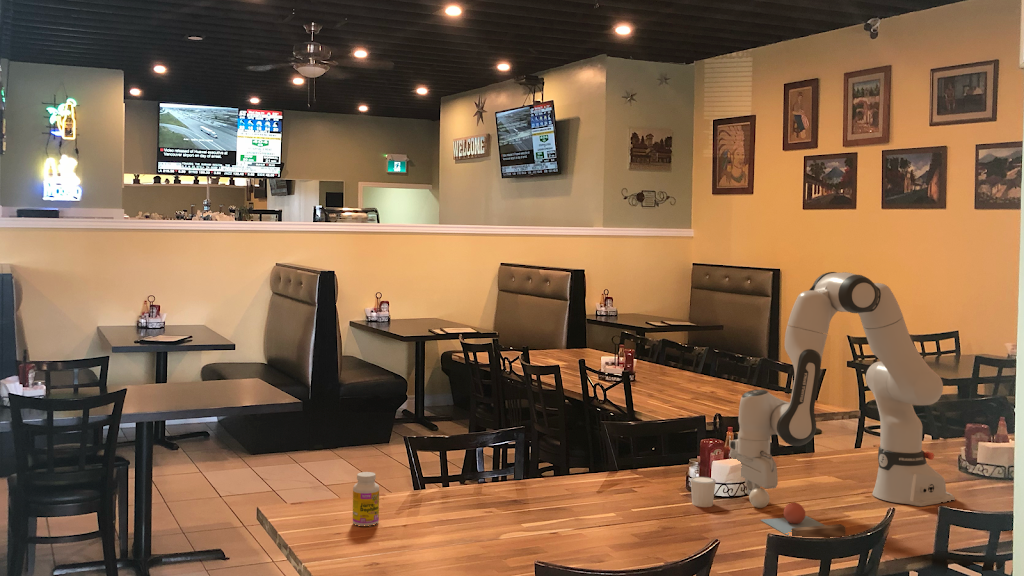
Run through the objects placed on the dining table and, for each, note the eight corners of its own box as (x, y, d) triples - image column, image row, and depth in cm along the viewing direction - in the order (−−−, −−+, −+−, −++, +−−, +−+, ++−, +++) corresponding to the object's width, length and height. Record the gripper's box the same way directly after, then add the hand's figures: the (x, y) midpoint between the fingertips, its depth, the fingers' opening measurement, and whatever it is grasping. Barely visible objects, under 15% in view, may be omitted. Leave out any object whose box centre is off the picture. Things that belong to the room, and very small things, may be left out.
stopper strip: (840, 533, 230) (840, 524, 230) (845, 536, 228) (845, 526, 228) (791, 538, 226) (791, 528, 226) (795, 540, 224) (796, 530, 224)
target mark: (806, 516, 244) (806, 515, 244) (838, 533, 230) (838, 532, 230) (760, 520, 240) (760, 519, 240) (790, 537, 226) (790, 536, 226)
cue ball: (769, 485, 250) (774, 505, 249) (762, 485, 255) (767, 504, 254) (750, 490, 249) (756, 510, 248) (744, 490, 254) (749, 509, 253)
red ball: (811, 509, 235) (806, 527, 237) (799, 497, 240) (794, 514, 242) (793, 511, 233) (789, 529, 235) (781, 499, 238) (777, 516, 240)
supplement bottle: (357, 529, 229) (357, 478, 228) (349, 521, 235) (349, 472, 234) (382, 525, 232) (382, 475, 231) (374, 518, 238) (374, 469, 237)
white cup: (715, 508, 250) (715, 483, 250) (689, 506, 251) (690, 481, 251) (714, 501, 257) (715, 477, 256) (690, 499, 258) (690, 475, 258)
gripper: (784, 455, 247) (782, 505, 248) (745, 439, 267) (744, 485, 268) (763, 456, 246) (762, 507, 246) (726, 440, 265) (724, 487, 266)
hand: (752, 496), depth 257 cm, fingers closed
